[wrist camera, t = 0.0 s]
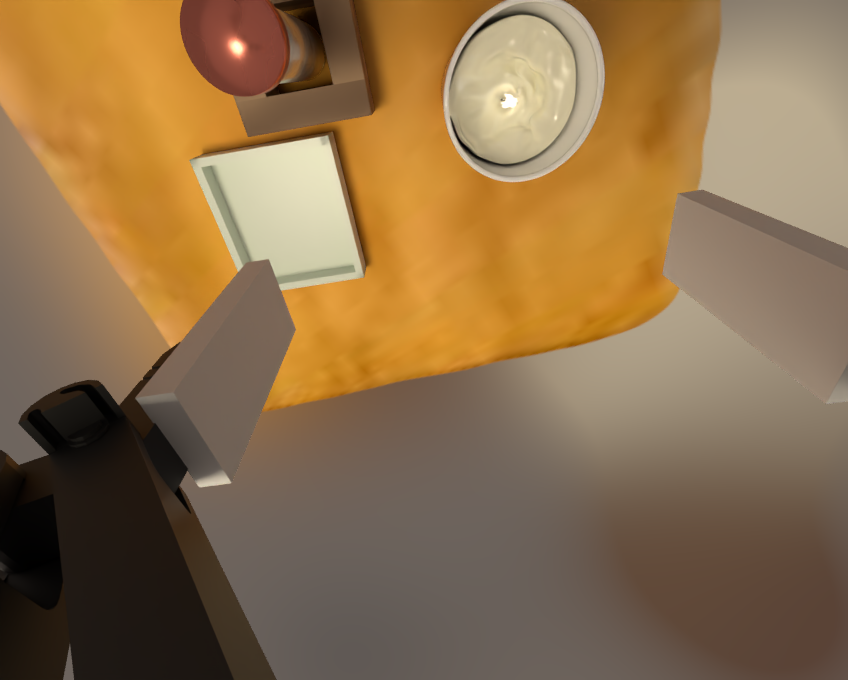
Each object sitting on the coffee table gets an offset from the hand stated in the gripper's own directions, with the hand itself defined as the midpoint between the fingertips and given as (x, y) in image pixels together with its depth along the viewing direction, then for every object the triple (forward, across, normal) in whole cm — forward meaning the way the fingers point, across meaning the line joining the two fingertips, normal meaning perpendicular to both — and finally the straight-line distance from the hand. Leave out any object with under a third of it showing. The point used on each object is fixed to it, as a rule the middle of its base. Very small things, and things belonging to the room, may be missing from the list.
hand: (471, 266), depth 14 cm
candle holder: (+28, +6, +3) cm, 29 cm away
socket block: (+28, -9, +8) cm, 31 cm away
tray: (+28, -14, -4) cm, 32 cm away
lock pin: (+28, -9, +8) cm, 31 cm away
